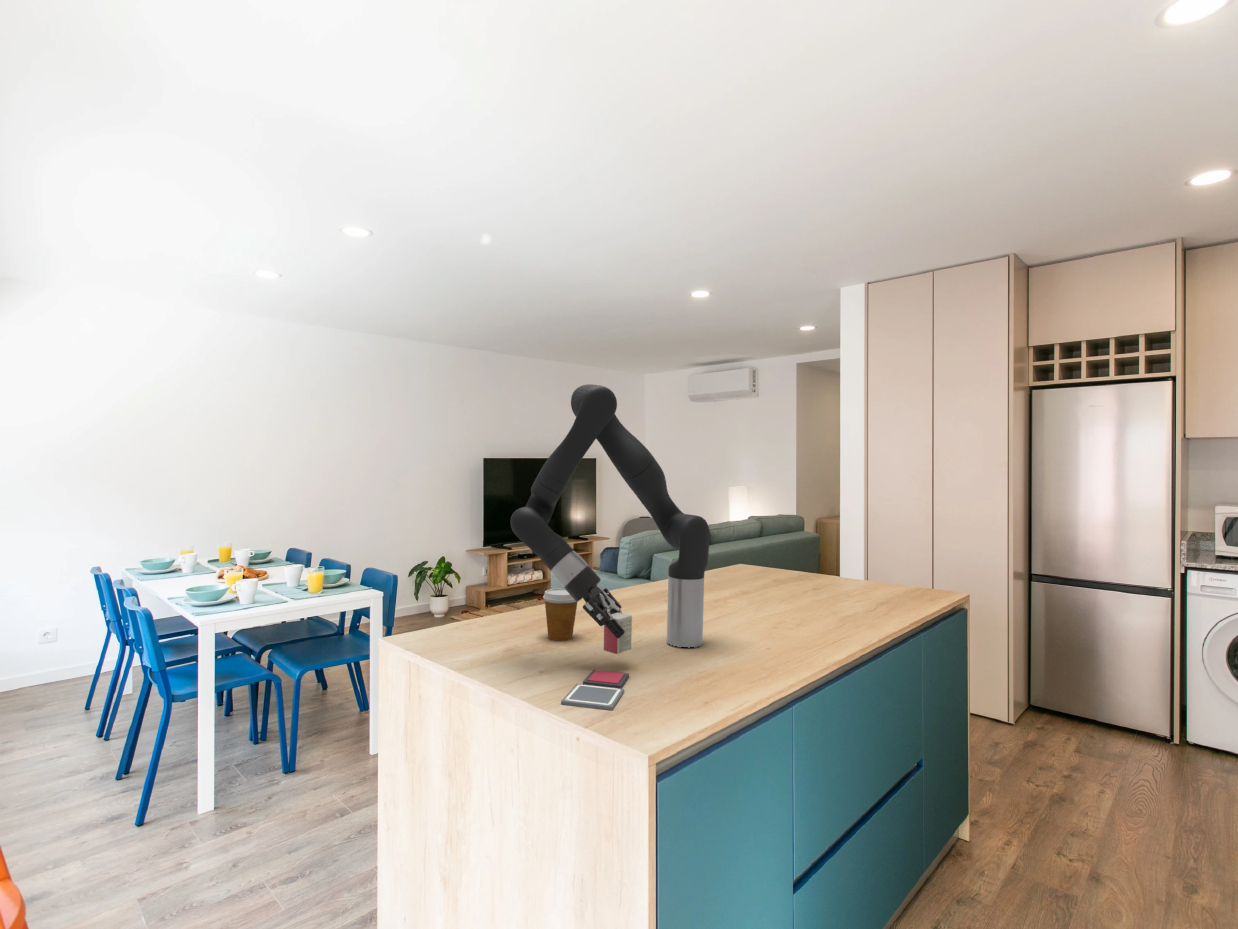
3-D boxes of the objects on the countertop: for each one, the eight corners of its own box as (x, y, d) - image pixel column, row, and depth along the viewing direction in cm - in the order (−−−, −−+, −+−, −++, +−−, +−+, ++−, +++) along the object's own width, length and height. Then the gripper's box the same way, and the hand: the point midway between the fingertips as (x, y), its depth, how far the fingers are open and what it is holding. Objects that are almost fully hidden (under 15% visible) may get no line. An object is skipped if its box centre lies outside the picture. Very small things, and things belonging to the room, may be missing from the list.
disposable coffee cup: (581, 633, 171) (582, 589, 171) (575, 643, 162) (576, 596, 162) (546, 631, 172) (547, 587, 172) (538, 641, 163) (539, 594, 163)
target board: (576, 686, 131) (576, 683, 131) (624, 692, 128) (624, 688, 128) (560, 704, 121) (561, 700, 121) (612, 710, 119) (612, 706, 119)
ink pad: (593, 673, 139) (593, 668, 139) (629, 677, 137) (629, 672, 137) (582, 685, 131) (582, 680, 131) (620, 689, 129) (620, 684, 129)
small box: (617, 646, 147) (617, 611, 147) (631, 650, 144) (632, 615, 144) (602, 650, 143) (603, 615, 143) (617, 655, 140) (618, 619, 140)
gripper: (577, 570, 138) (630, 629, 135) (595, 559, 152) (643, 613, 149) (553, 592, 139) (605, 652, 137) (573, 580, 153) (621, 634, 151)
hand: (625, 631), depth 143 cm, fingers closed on small box, 6 cm apart
